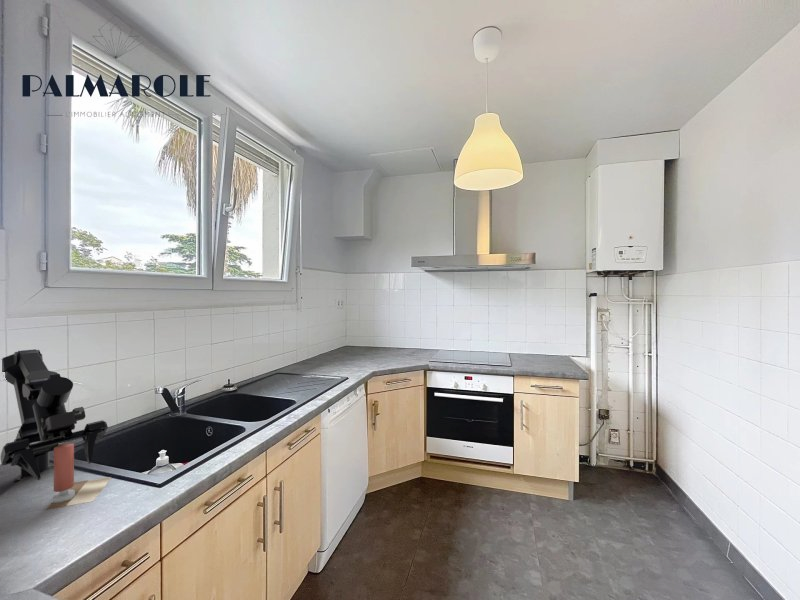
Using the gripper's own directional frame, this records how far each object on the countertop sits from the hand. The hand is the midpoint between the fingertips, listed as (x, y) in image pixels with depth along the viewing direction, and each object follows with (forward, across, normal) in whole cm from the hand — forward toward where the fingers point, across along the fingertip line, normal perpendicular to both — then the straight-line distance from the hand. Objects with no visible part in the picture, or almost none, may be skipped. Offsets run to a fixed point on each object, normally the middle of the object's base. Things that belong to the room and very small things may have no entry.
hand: (65, 470), depth 84 cm
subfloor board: (+5, +3, +8) cm, 10 cm away
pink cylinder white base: (+4, 0, +6) cm, 8 cm away
